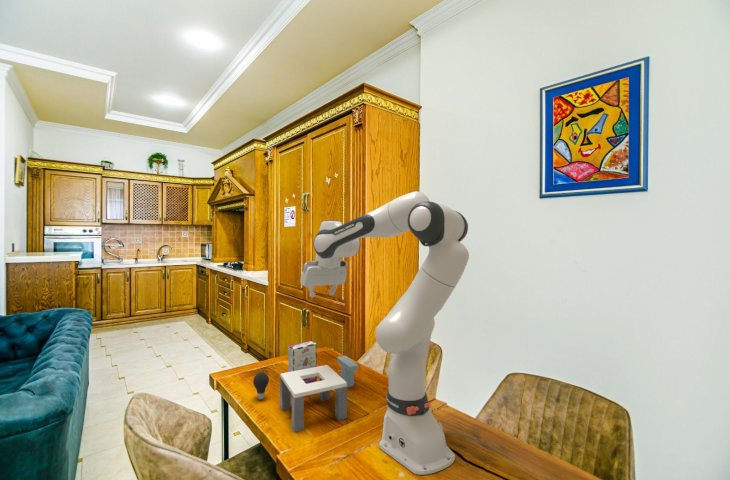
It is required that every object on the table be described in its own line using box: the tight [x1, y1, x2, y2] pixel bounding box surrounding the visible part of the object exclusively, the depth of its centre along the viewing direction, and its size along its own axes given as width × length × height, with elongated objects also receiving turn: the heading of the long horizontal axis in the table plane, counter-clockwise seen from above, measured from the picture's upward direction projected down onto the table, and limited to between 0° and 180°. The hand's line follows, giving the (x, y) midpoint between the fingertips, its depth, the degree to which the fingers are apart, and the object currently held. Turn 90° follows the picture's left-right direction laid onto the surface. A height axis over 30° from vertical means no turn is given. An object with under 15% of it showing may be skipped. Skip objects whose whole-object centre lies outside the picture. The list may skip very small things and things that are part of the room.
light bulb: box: [252, 371, 270, 401], centre depth 123 cm, size 6×6×10 cm
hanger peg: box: [336, 355, 359, 389], centre depth 136 cm, size 12×4×10 cm, turn 28°
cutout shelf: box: [279, 364, 348, 434], centre depth 114 cm, size 18×18×12 cm
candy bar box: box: [287, 340, 318, 384], centre depth 137 cm, size 11×5×16 cm, turn 131°
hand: (322, 295), depth 129 cm, fingers open, 8 cm apart
